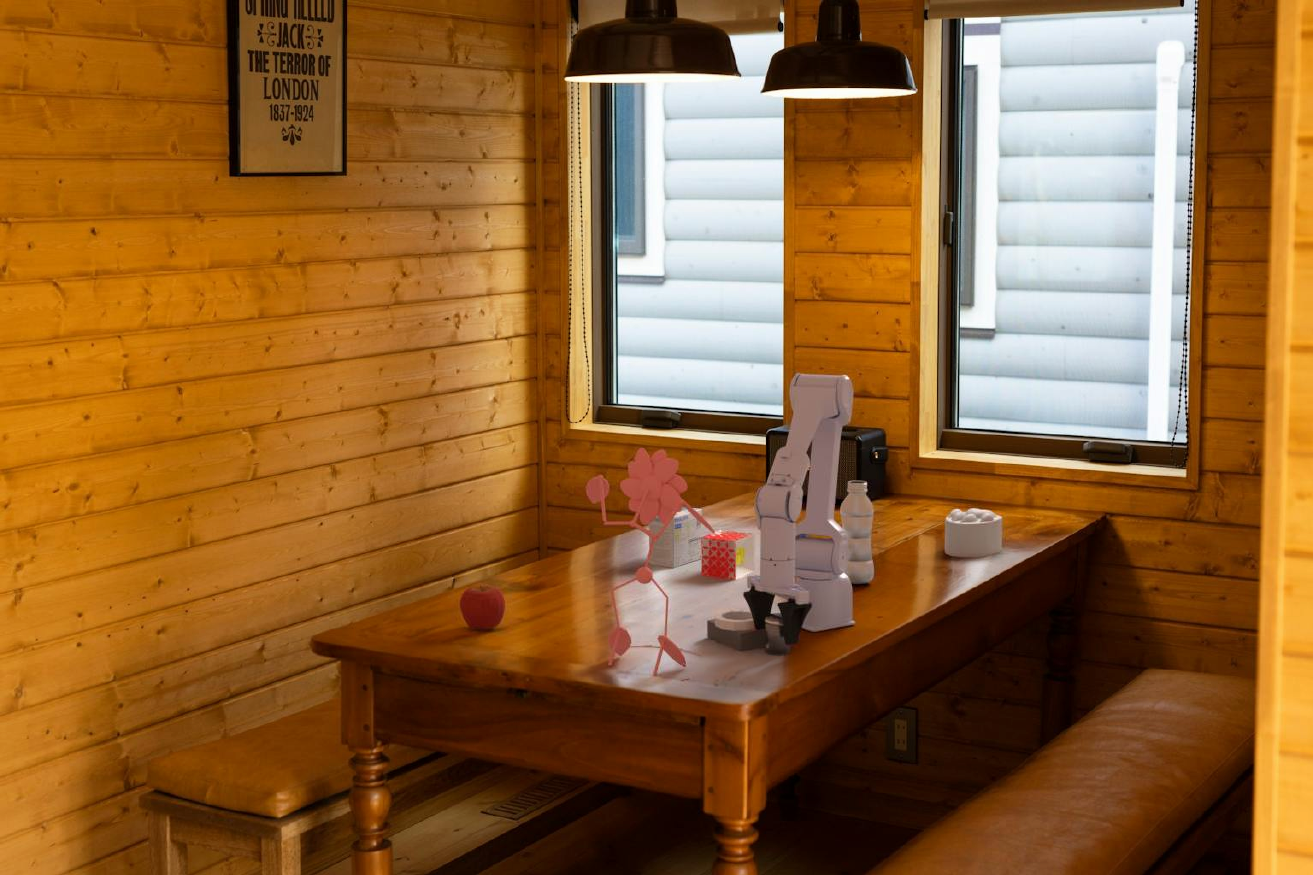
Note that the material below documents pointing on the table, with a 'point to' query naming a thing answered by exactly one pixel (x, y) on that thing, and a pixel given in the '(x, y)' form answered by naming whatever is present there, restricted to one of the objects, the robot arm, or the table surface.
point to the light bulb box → (676, 540)
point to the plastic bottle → (858, 532)
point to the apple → (482, 607)
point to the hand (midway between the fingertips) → (776, 638)
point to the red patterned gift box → (727, 554)
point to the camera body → (735, 630)
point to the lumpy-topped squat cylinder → (973, 533)
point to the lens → (775, 635)
